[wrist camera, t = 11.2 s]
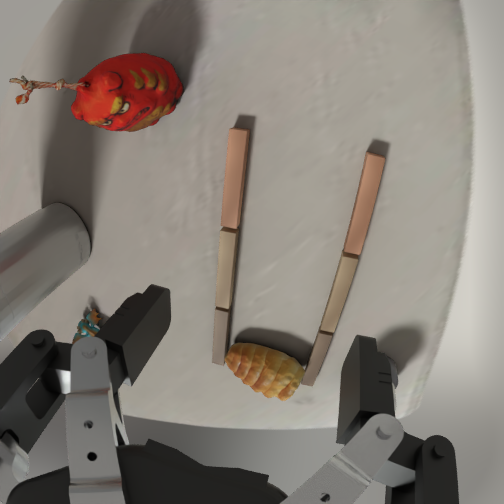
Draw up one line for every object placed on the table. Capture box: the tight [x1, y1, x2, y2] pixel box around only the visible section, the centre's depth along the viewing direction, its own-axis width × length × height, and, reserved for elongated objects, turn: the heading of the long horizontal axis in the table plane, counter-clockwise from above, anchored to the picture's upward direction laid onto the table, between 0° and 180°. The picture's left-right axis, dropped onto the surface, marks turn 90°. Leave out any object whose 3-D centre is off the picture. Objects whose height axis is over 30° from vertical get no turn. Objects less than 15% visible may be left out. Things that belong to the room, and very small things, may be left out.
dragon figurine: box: [72, 309, 102, 344], centre depth 43 cm, size 7×7×8 cm
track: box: [212, 127, 385, 386], centre depth 32 cm, size 13×28×1 cm, turn 173°
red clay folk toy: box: [10, 53, 184, 132], centre depth 20 cm, size 8×7×15 cm
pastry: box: [224, 343, 305, 401], centre depth 37 cm, size 9×7×4 cm
